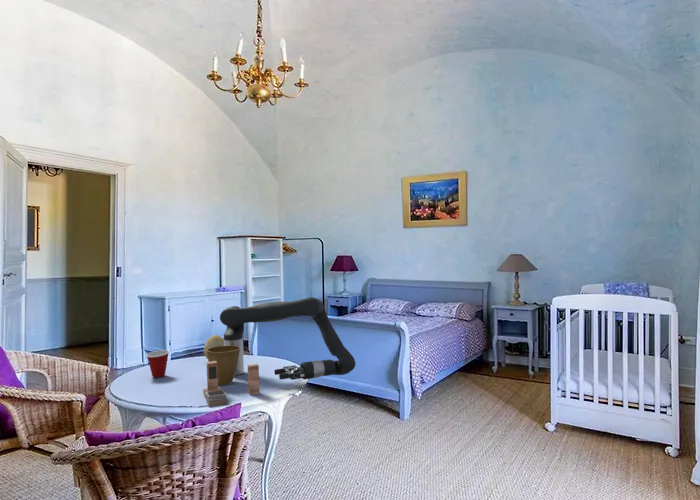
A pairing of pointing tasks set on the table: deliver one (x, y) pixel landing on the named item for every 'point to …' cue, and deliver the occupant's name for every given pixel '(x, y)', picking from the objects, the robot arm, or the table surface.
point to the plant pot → (224, 362)
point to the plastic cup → (158, 362)
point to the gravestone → (213, 387)
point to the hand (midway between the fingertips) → (277, 374)
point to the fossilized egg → (213, 343)
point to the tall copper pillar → (253, 379)
